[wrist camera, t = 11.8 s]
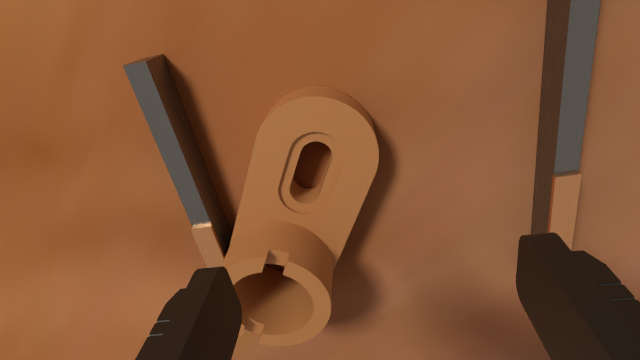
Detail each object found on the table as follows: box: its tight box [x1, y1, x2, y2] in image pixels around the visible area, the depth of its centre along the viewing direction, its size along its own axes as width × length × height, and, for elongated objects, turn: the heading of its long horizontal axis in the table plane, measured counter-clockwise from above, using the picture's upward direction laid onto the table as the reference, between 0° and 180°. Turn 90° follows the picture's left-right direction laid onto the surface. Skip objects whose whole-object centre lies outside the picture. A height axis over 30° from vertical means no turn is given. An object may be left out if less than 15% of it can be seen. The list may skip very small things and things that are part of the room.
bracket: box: [222, 86, 379, 346], centre depth 26 cm, size 18×8×7 cm, turn 163°
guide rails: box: [123, 0, 601, 268], centre depth 26 cm, size 22×27×3 cm
